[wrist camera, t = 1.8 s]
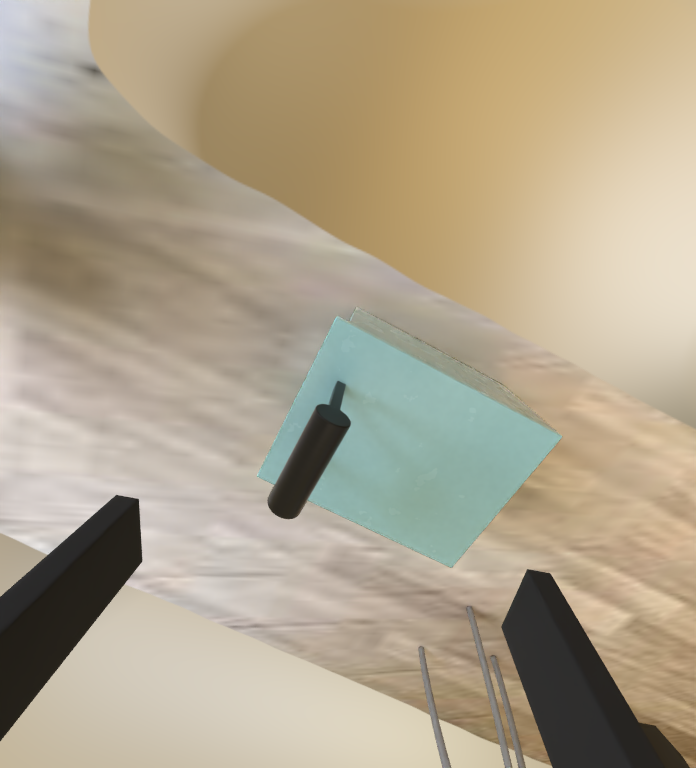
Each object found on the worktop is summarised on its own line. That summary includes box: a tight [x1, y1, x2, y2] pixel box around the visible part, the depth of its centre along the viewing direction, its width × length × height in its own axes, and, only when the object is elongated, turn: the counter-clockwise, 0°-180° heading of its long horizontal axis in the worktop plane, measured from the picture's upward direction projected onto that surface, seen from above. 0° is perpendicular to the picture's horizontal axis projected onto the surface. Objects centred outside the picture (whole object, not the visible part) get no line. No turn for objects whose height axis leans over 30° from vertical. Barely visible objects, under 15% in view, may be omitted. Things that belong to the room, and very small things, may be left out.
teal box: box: [349, 307, 557, 432], centre depth 32 cm, size 18×15×11 cm
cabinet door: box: [257, 316, 562, 568], centre depth 23 cm, size 19×15×8 cm
